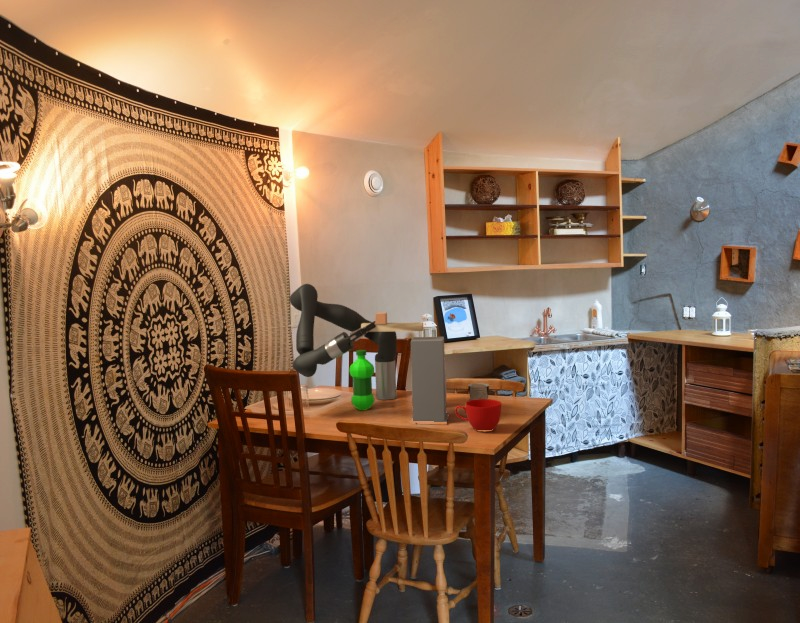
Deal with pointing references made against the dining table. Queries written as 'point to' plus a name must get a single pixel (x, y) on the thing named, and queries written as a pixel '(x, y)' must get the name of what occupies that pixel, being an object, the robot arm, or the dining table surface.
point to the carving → (478, 392)
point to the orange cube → (380, 318)
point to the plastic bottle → (362, 382)
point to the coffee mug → (479, 383)
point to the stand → (428, 379)
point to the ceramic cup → (482, 413)
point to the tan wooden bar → (395, 327)
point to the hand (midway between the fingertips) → (375, 323)
